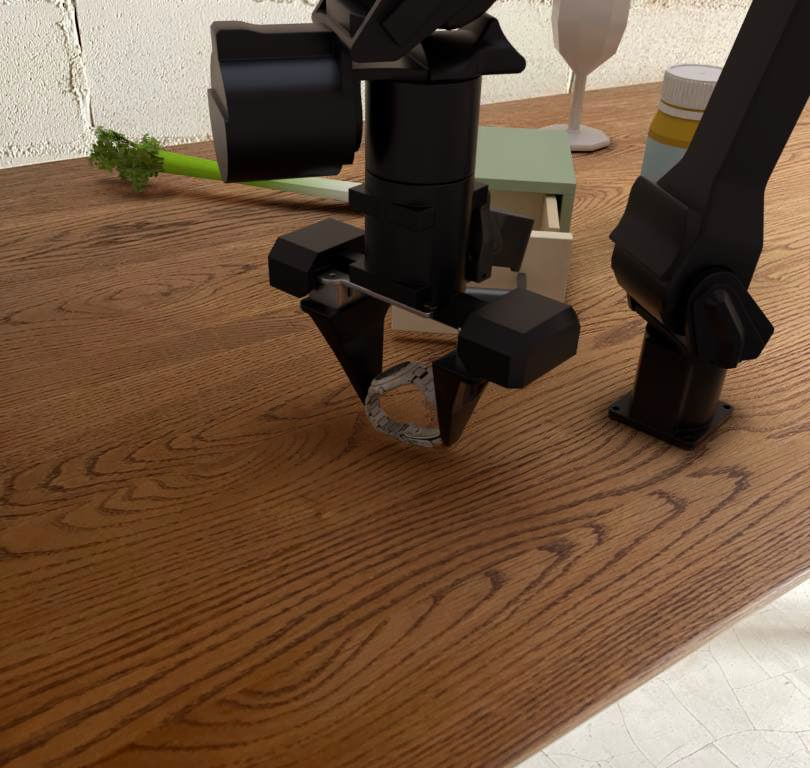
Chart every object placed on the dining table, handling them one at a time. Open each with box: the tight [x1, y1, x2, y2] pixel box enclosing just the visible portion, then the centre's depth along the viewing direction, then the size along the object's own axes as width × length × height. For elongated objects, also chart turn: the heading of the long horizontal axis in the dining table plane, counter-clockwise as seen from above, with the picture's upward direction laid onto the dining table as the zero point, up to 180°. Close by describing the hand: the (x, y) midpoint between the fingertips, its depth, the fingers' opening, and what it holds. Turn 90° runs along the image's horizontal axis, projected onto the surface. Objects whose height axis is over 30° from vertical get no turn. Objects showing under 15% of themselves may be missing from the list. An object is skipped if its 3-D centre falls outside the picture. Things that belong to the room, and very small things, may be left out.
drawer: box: [391, 190, 574, 335], centre depth 70 cm, size 17×13×8 cm
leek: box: [84, 125, 364, 202], centre depth 92 cm, size 6×7×30 cm
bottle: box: [639, 63, 724, 182], centre depth 83 cm, size 7×7×15 cm
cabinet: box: [474, 125, 577, 233], centre depth 79 cm, size 14×14×10 cm
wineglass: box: [538, 0, 632, 152], centre depth 105 cm, size 9×9×21 cm
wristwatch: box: [364, 360, 442, 449], centre depth 57 cm, size 4×6×5 cm, turn 59°
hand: (410, 423), depth 58 cm, fingers closed on wristwatch, 6 cm apart
